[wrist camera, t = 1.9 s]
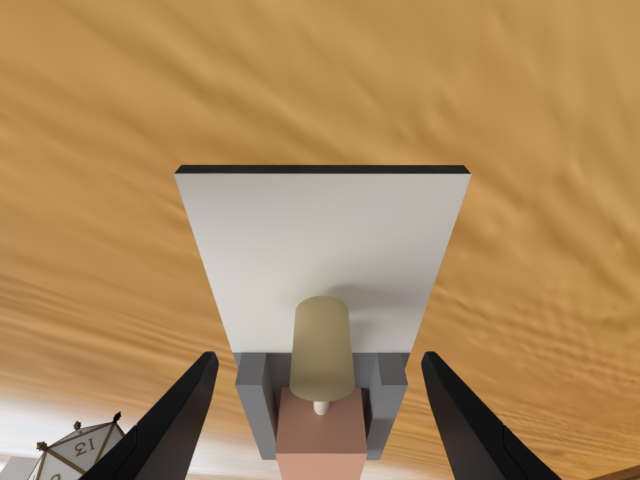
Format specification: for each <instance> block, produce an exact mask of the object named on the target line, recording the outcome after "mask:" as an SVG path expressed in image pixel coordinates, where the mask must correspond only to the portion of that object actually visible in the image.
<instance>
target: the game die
mask: <svg viewBox="0 0 640 480" xmlns="http://www.w3.org/2000/svg"><path fill="white" fill-rule="evenodd" d="M120 417H121V411H120V412H118V413H117V414H115V416H114V417H113V421H112V422H108V423H103V424H99V425H94V426H89V427H84V428H80V427H81V422H78V421H76V422H75V424H74V425H73V426H74V429H75V431H74V432H72V433H70V434H69V435H67V436H65V437H64V438H62V439H60V440H59V441H57V442H55V443H53V444H52V445H50V446H47V443H45V441H43V442H37V448H36V449H39V451H43V453H42V455H41V457H40V459H39V460H38V462H37V464H36V466H35V467H34V469H33V471H32V473H31V474H30V476H29V478H28V480H78V479H79V478H80V477H81V476H82V475H83V474H84V473H85V472H86V471H88V470H89V469H90V468H91V467H92V466H93V465H94V464H95V463H96V462H97V461H99V460H100V459H101V458H102V457H103V456H104V455H105V454H106V453H107V452H108V451H109V450H110V449H111V448H112V447H113V446H114V445H115V444H116V443H117V442H118V441H119V440H120V439H121V438H122V437H123V436H124V435H125V433H124V432H123V430H122V429H121V428H120V426H119V425H118V424H117V421H118V420H120Z"/></svg>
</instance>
